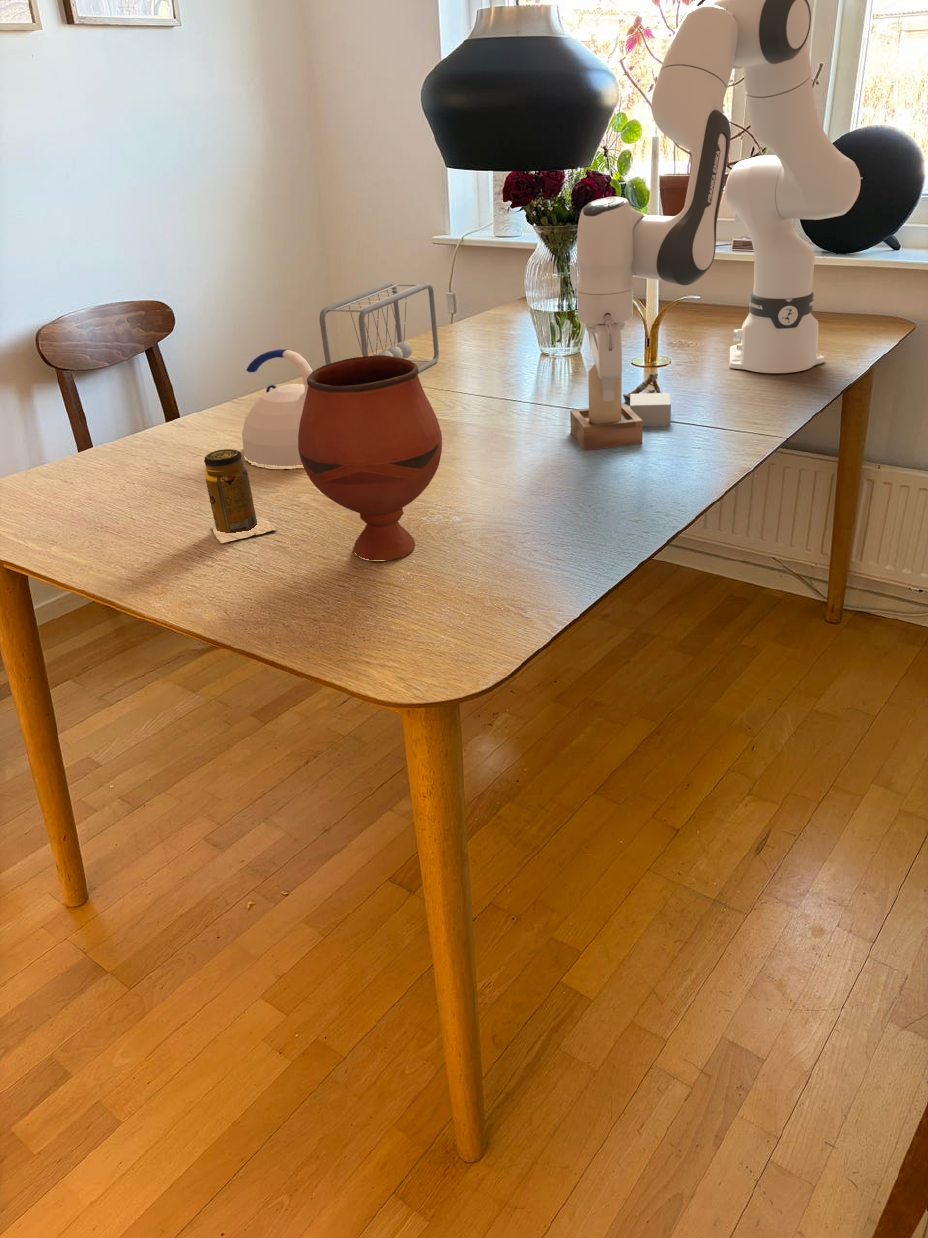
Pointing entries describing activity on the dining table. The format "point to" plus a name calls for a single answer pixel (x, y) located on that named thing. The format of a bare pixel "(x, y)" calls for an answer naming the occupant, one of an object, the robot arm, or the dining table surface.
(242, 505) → the condiment
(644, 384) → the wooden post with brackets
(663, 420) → the grey block
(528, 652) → the dining table surface
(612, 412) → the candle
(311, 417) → the goblet
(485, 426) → the dining table surface
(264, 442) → the kettle
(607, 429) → the square wooden tray
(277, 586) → the dining table surface
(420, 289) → the newton's cradle
